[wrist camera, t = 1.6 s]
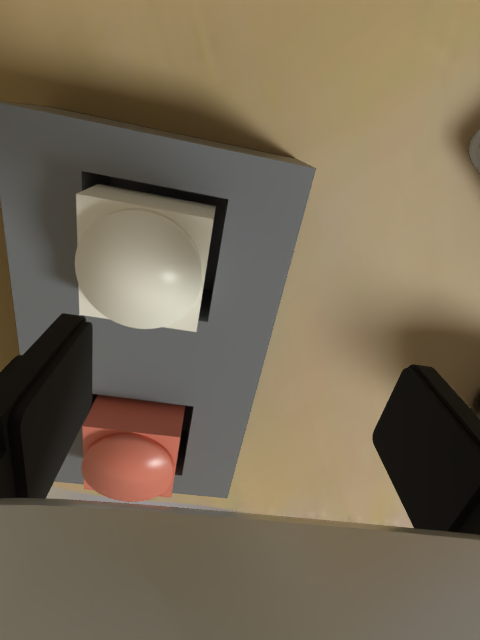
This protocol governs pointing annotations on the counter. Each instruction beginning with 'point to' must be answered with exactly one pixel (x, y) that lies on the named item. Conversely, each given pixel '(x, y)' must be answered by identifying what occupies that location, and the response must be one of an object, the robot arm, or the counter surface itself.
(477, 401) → the supplement bottle
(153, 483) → the red button
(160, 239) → the ivory button
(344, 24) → the counter surface
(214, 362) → the button panel
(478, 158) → the emergency button
